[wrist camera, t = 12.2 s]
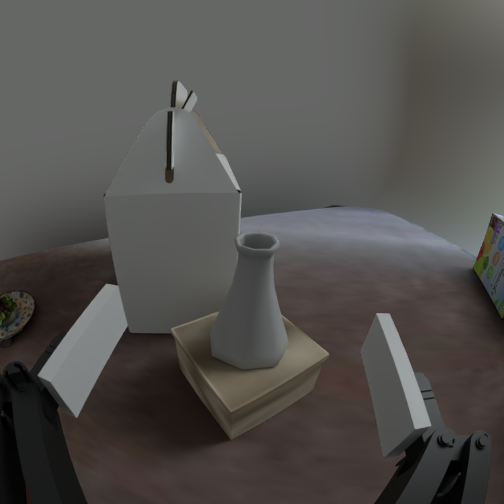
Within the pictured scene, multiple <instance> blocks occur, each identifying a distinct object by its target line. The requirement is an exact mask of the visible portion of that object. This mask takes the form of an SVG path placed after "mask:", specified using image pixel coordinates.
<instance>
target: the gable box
mask: <svg viewBox="0 0 504 504" xmlns="http://www.w3.org/2000/svg"><path fill="white" fill-rule="evenodd" d="M196 101H197V97H196V95H195V93H194V91H191V92H190V94H189V96H188V97H187V90H186V89H185V88H184V87H183V86H182V85H181V83H180V82H179V81H173V83H172V93H171V108H166V109H162V110H160V111H158V112H156V113H155V114H154V115H152V116H151V118H150V119H149V120H148V122H147V124H146V125H145V126H144V128H143V130H142V131H141V133H140V134H139V136H138V137H137V139H136V141H135V142H134V144H133V146H132V147H131V149H130V151H129V152H128V154H127V156H126V158H125V160H124V161H123V163H122V165H121V166H120V168H119V170H118V172H117V174H116V176H115V177H114V179H113V181H112V183H111V185H110V187H109V189H108V191H107V192H106V193H105V194H104V205H105V214H106V221H107V228H108V234H109V241H110V247H111V253H112V258H113V264H114V269H115V274H116V279H117V283H118V287H119V291H120V296H121V300H122V304H123V308H124V312H125V316H126V320H127V324H128V328H129V331H130V332H131V333H171V328H174V327H177V326H180V325H183V324H185V323H188V322H191V321H194V320H197V319H199V318H202V317H205V316H208V315H211V314H213V313H216V312H219V311H220V309H221V307H222V305H223V303H224V301H225V298H226V296H227V294H228V291H229V289H230V287H231V285H232V282H233V278H234V274H235V270H236V266H237V259H238V252H237V249H236V246H235V241H234V239H235V237H236V236H238V235H239V233H240V214H241V195H242V192H241V190H240V188H239V186H238V183H237V182H236V179H235V177H234V175H233V173H232V170H231V168H230V166H229V164H228V162H227V159H226V157H225V156H224V155H223V154H222V152H221V151H220V149H219V147H218V146H217V144H216V143H215V141H214V139H213V138H212V136H211V134H210V133H209V131H208V129H207V128H206V126H205V124H204V123H203V121H202V120H201V118H200V116H199V115H198V114H197V113H196V112H194V111H192V108H193V106H194V105H195V103H196Z"/></svg>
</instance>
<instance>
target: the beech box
mask: <svg viewBox="0 0 504 504" xmlns="http://www.w3.org/2000/svg"><path fill="white" fill-rule="evenodd" d="M218 313H219V312H216V313H213V314H211V315H208V316H205V317H202V318H199V319H197V320H194V321H191V322H188V323H185V324H183V325H180V326H177V327H174V328H171V333H172V335H173V336H174V338H175V343H176V349H177V354H178V360H179V366H180V369H181V371H182V372H183V374H184V375H185V377H186V378H187V380H188V381H189V383H190V384H191V386H192V387H193V389H194V390H195V392H196V393H197V395H198V396H199V398H200V399H201V400H202V402H203V403H204V405H205V406H206V407H207V409H208V410H209V412H210V413H211V414H212V416H213V417H214V418H215V420H216V421H217V422H218V424H219V425H220V426H221V428H222V429H223V430H224V432H225V433H226V434H227V435H228V437H229V438H230V439H231V440H232V439H234V438H235V437H237V436H239V435H241V434H243V433H245V432H247V431H248V430H250V429H252V428H254V427H255V426H257V425H259V424H261V423H262V422H264V421H266V420H267V419H269V418H271V417H272V416H274V415H276V414H277V413H279V412H281V411H282V410H284V409H285V408H287V407H288V406H290V405H292V404H293V403H295V402H296V401H298V400H299V399H301V398H302V397H304V396H305V395H307V394H308V393H309V392H311V391H312V390H313V387H314V385H315V382H316V380H317V377H318V375H319V372H320V369H321V367H322V364H323V361H324V360H326V359H327V358H328V356H329V353H328V352H326V351H325V350H324V349H323V348H321V347H320V346H319V345H318V344H317V343H315V342H314V341H313V340H312V339H310V338H309V337H308V336H307V335H306V334H304V333H303V332H302V331H301V330H299V329H298V328H297V327H296V326H295V325H293V324H292V323H291V322H290V321H289V320H287V319H286V318H285V317H284V316H283V315H281V316H282V320H283V323H284V327H285V330H286V334H287V337H288V341H289V345H288V347H287V349H286V351H285V352H284V354H283V356H282V358H281V359H280V361H279V363H278V365H277V366H271V367H262V368H253V369H243V370H242V369H240V368H238V367H235V366H233V365H231V364H228V363H226V362H224V361H222V360H219V359H217V358H215V357H213V356H212V353H211V344H210V335H209V332H210V330H211V328H212V325H213V323H214V321H215V319H216V317H217V315H218Z"/></svg>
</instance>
